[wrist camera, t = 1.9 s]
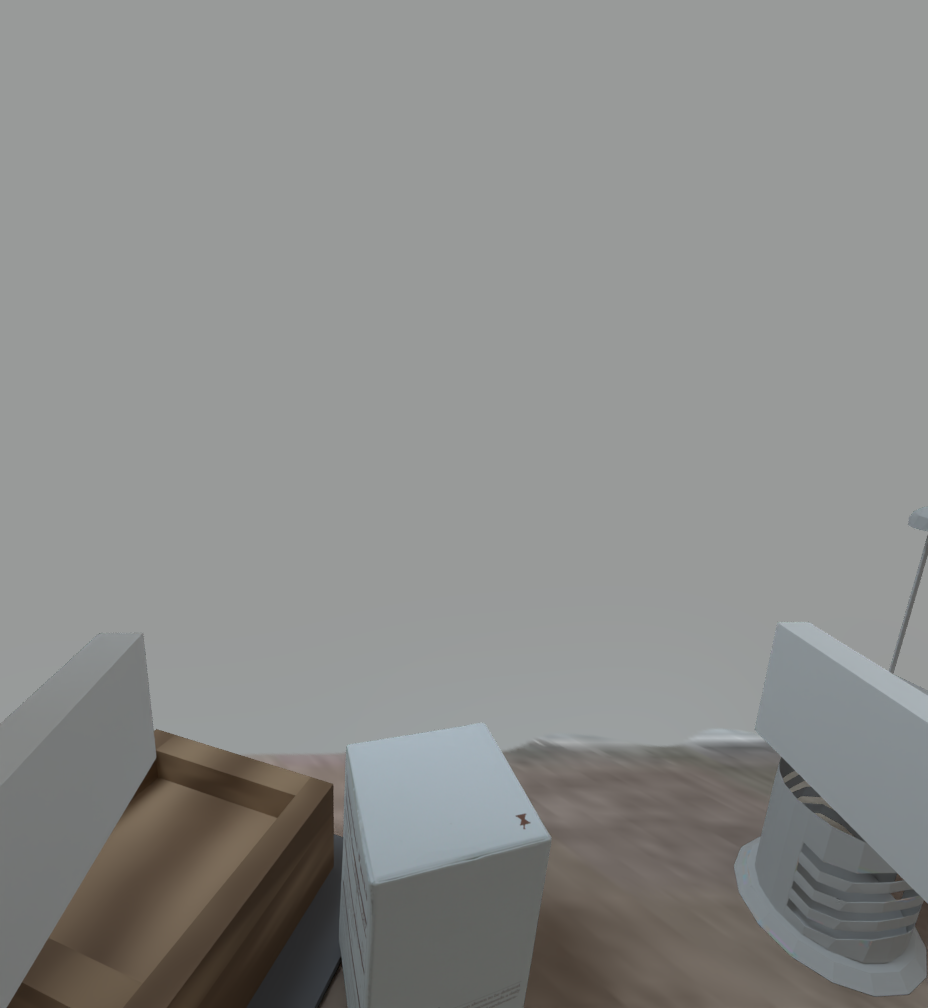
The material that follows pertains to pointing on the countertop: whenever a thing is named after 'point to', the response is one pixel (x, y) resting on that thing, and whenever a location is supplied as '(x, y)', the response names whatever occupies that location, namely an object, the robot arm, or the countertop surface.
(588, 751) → the countertop surface
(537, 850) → the supplement box
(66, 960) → the tray
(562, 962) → the countertop surface
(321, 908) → the mat
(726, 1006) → the countertop surface
